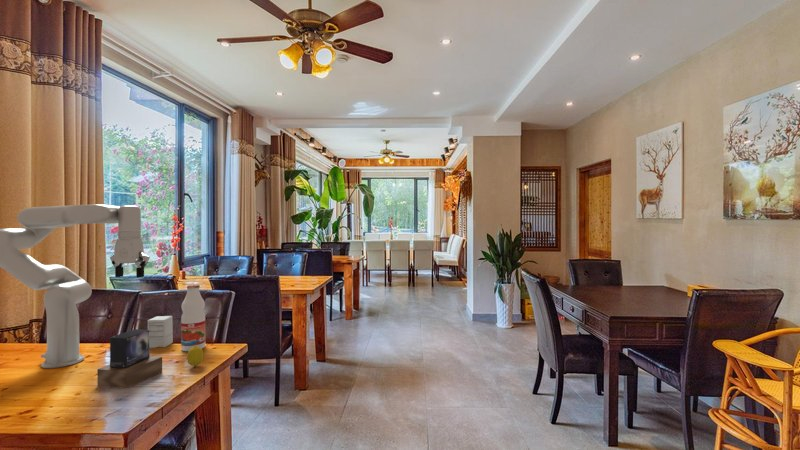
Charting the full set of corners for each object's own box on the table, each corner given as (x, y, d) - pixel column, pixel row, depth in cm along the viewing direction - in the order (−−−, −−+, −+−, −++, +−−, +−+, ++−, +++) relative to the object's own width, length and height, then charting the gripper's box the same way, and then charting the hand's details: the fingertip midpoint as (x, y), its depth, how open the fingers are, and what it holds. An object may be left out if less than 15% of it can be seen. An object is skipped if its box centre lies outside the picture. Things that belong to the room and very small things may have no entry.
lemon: (206, 365, 142) (206, 344, 142) (194, 370, 136) (194, 348, 137) (196, 363, 144) (196, 343, 144) (183, 368, 138) (183, 347, 138)
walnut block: (97, 386, 124) (97, 369, 124) (134, 371, 137) (134, 355, 137) (127, 389, 121) (127, 371, 121) (162, 373, 135) (162, 356, 135)
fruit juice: (208, 344, 168) (207, 283, 168) (202, 350, 158) (201, 286, 159) (185, 345, 165) (185, 284, 166) (177, 352, 156) (177, 287, 157)
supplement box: (156, 343, 170) (156, 316, 170) (173, 342, 170) (173, 315, 171) (147, 348, 162) (146, 320, 163) (164, 347, 163) (164, 319, 163)
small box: (126, 368, 124) (125, 337, 124) (108, 368, 124) (108, 337, 125) (150, 357, 134) (150, 328, 134) (134, 357, 135) (134, 328, 135)
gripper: (102, 235, 148) (102, 278, 148) (140, 235, 146) (140, 278, 146) (119, 235, 156) (119, 275, 156) (155, 235, 154) (155, 276, 153)
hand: (129, 277), depth 151 cm, fingers open, 9 cm apart
